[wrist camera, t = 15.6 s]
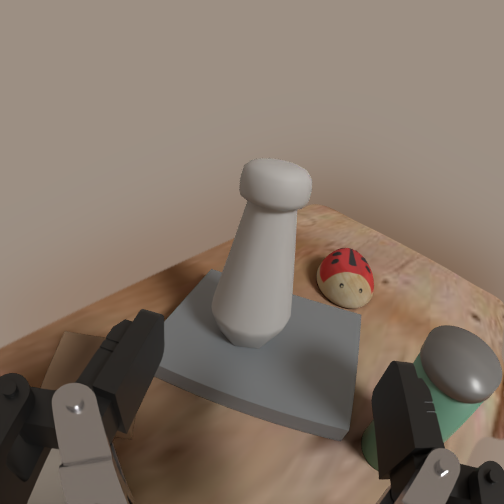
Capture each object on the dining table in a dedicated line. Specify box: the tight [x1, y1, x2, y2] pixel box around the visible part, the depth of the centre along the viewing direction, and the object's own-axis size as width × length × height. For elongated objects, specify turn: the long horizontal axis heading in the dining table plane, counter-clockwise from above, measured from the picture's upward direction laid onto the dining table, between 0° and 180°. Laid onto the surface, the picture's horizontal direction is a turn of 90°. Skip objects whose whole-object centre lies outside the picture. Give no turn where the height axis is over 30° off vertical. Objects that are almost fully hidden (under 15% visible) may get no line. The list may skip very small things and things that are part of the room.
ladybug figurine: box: [317, 248, 374, 309], centre depth 35 cm, size 7×10×4 cm
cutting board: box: [154, 269, 361, 441], centre depth 25 cm, size 15×13×2 cm
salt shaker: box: [211, 158, 312, 349], centre depth 22 cm, size 6×6×13 cm
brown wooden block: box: [41, 331, 135, 440], centre depth 17 cm, size 5×5×4 cm
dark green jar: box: [361, 325, 502, 471], centre depth 15 cm, size 5×5×9 cm
